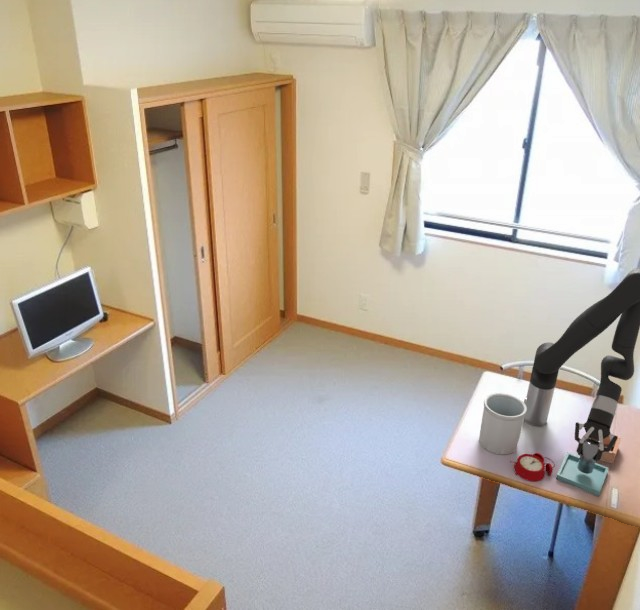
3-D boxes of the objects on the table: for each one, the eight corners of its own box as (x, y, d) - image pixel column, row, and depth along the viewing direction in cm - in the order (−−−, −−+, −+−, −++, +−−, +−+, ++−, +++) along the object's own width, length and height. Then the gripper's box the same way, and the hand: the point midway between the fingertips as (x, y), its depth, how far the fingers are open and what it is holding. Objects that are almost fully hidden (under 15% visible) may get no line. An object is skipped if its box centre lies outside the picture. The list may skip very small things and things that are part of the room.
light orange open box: (579, 451, 216) (581, 442, 214) (586, 435, 225) (589, 426, 223) (612, 464, 211) (615, 454, 208) (618, 447, 219) (621, 437, 217)
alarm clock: (506, 457, 208) (543, 441, 211) (507, 469, 211) (543, 454, 214) (524, 477, 199) (562, 461, 202) (525, 490, 202) (562, 473, 205)
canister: (575, 469, 203) (582, 444, 198) (579, 461, 207) (585, 436, 202) (591, 475, 201) (597, 450, 196) (594, 467, 204) (601, 442, 199)
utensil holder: (484, 424, 229) (490, 387, 221) (522, 438, 223) (531, 400, 215) (472, 446, 218) (478, 408, 210) (512, 461, 211) (521, 422, 203)
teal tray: (555, 478, 204) (556, 474, 203) (566, 456, 214) (567, 452, 213) (598, 496, 197) (600, 492, 196) (607, 472, 207) (608, 467, 206)
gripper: (580, 401, 203) (565, 448, 200) (625, 416, 196) (610, 464, 193) (581, 406, 210) (566, 451, 206) (624, 421, 203) (609, 467, 199)
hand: (587, 457), depth 200 cm, fingers closed on canister, 5 cm apart
